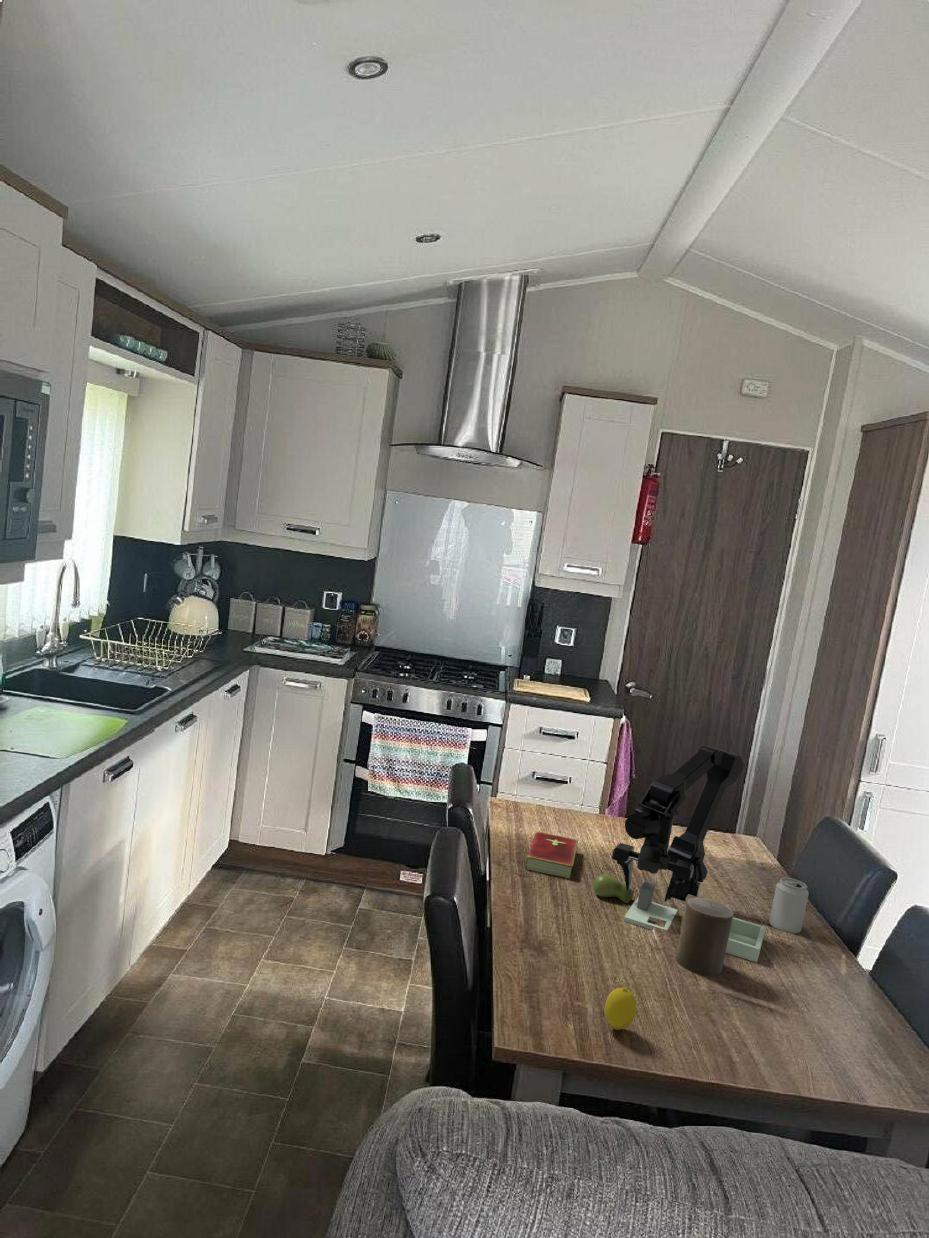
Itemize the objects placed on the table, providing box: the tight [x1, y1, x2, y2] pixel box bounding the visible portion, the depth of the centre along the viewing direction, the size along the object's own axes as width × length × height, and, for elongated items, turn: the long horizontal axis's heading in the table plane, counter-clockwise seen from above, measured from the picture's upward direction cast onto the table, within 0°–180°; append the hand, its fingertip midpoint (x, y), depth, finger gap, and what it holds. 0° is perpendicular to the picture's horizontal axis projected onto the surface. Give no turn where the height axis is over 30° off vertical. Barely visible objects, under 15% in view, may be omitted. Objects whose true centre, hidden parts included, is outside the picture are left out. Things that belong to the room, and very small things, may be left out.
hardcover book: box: [524, 830, 579, 879], centre depth 247 cm, size 12×21×4 cm, turn 170°
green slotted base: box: [623, 879, 679, 931], centre depth 220 cm, size 10×14×6 cm
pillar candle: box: [674, 896, 734, 977], centre depth 196 cm, size 10×10×15 cm
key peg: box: [679, 894, 701, 933], centre depth 212 cm, size 3×3×9 cm
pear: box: [592, 874, 635, 904], centre depth 228 cm, size 6×5×10 cm
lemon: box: [604, 987, 637, 1031], centre depth 167 cm, size 6×6×8 cm
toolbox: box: [725, 916, 766, 963], centre depth 210 cm, size 10×14×4 cm
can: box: [768, 877, 810, 935], centre depth 225 cm, size 8×8×12 cm
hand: (646, 895), depth 224 cm, fingers open, 9 cm apart
